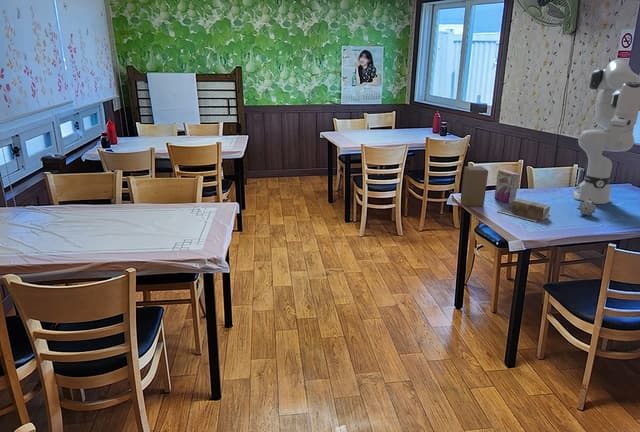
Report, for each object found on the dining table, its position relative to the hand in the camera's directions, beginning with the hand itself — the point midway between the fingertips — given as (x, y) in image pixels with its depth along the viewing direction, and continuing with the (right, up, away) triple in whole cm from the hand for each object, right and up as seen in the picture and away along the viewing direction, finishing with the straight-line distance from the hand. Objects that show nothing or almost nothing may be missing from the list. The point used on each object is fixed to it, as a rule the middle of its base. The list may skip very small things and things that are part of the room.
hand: (617, 150), depth 210 cm
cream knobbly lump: (-3, -30, +20) cm, 37 cm away
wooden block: (-56, -24, +36) cm, 71 cm away
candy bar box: (-35, -22, +42) cm, 59 cm away
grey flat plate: (-34, -29, +22) cm, 50 cm away
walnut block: (-27, -29, +13) cm, 41 cm away
